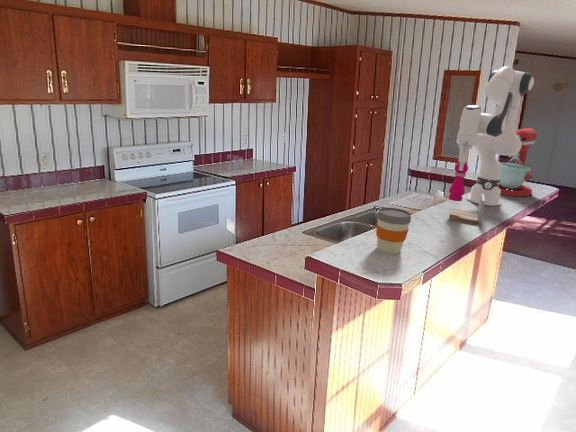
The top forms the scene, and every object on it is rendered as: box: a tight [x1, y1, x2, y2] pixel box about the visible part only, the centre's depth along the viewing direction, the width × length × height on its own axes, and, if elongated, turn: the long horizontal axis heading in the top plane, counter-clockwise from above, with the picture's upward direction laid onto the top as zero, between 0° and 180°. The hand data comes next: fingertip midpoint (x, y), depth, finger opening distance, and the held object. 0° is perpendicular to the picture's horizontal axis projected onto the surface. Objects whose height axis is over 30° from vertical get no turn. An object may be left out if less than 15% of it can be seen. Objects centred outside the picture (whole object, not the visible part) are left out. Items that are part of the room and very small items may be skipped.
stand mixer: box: [498, 127, 538, 197], centre depth 292 cm, size 24×32×40 cm
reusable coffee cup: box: [375, 207, 412, 255], centre depth 177 cm, size 13×13×15 cm
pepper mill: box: [448, 162, 469, 202], centre depth 226 cm, size 7×7×20 cm
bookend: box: [448, 193, 485, 226], centre depth 227 cm, size 16×14×12 cm
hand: (460, 169), depth 224 cm, fingers closed on pepper mill, 6 cm apart
